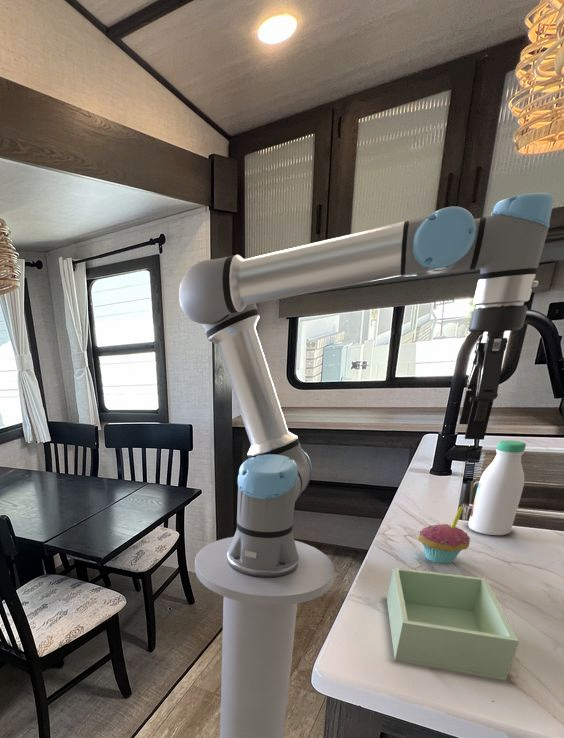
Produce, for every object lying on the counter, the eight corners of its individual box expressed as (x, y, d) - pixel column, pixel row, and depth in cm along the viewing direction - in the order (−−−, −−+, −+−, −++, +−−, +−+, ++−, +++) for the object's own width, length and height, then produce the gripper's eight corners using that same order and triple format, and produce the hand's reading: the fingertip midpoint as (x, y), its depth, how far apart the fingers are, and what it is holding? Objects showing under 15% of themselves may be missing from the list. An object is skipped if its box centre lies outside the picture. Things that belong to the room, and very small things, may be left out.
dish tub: (386, 600, 83) (392, 567, 80) (476, 612, 78) (486, 578, 75) (394, 660, 69) (402, 622, 66) (505, 681, 63) (519, 641, 61)
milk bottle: (519, 534, 103) (546, 444, 95) (485, 537, 102) (510, 448, 94) (491, 521, 110) (514, 436, 102) (459, 524, 109) (480, 440, 101)
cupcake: (452, 549, 98) (465, 496, 93) (473, 568, 91) (488, 511, 86) (407, 549, 100) (418, 496, 95) (424, 568, 92) (437, 511, 87)
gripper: (544, 302, 68) (505, 447, 76) (515, 304, 87) (487, 419, 95) (480, 307, 71) (450, 445, 80) (466, 308, 91) (443, 418, 99)
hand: (470, 431), depth 88 cm, fingers open, 13 cm apart
